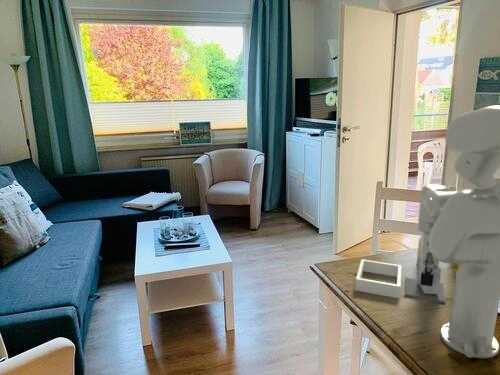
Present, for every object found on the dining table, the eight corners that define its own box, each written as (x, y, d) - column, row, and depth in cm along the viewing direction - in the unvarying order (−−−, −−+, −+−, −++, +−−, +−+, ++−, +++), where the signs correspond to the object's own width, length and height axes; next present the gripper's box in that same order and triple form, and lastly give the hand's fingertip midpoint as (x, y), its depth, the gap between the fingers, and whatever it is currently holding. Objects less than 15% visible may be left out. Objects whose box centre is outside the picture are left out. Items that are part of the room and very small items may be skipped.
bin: (399, 298, 111) (400, 286, 110) (355, 290, 116) (355, 278, 115) (400, 276, 124) (401, 265, 123) (360, 269, 129) (361, 259, 128)
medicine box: (439, 295, 110) (442, 268, 108) (423, 293, 110) (426, 267, 108) (431, 282, 117) (434, 257, 115) (416, 281, 118) (419, 256, 116)
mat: (445, 303, 108) (445, 301, 107) (404, 296, 112) (404, 293, 112) (442, 285, 117) (442, 283, 117) (405, 279, 122) (405, 277, 121)
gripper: (448, 237, 100) (441, 294, 104) (443, 218, 115) (437, 267, 120) (418, 234, 103) (412, 289, 107) (417, 215, 118) (412, 264, 122)
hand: (425, 277), depth 113 cm, fingers closed on medicine box, 8 cm apart
